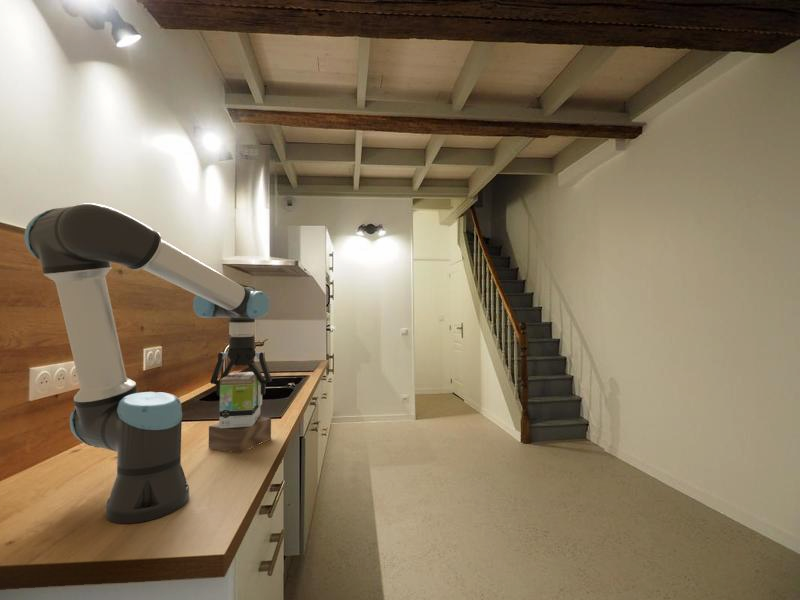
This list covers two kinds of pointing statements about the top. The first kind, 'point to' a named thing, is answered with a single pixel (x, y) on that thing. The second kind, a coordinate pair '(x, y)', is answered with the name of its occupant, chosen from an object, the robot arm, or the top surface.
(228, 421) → the tea box
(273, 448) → the top surface
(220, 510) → the top surface
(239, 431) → the walnut riser
